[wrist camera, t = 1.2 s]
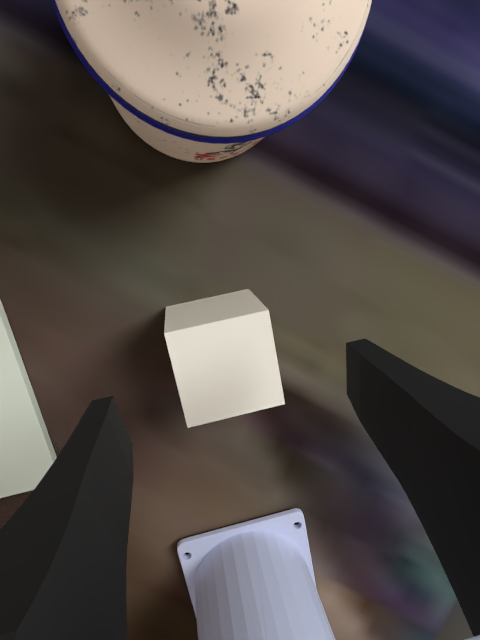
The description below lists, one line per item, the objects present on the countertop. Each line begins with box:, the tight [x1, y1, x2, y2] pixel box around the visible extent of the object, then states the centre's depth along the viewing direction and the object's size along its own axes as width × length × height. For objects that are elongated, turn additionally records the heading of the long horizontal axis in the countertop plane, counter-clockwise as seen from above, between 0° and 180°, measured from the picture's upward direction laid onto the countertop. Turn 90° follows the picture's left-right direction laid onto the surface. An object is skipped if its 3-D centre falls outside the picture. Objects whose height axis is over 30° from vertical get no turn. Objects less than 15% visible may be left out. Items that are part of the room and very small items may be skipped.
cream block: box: [164, 289, 285, 428], centre depth 21 cm, size 4×4×5 cm
